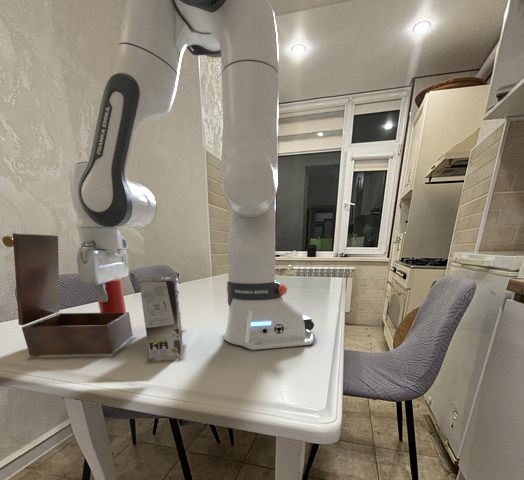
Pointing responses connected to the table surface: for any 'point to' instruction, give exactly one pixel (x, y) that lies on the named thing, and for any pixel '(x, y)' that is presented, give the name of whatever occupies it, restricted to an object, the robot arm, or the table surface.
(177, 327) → the coffee box
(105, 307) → the can
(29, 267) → the chest lid
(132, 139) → the robot arm
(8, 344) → the table surface
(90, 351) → the chest
